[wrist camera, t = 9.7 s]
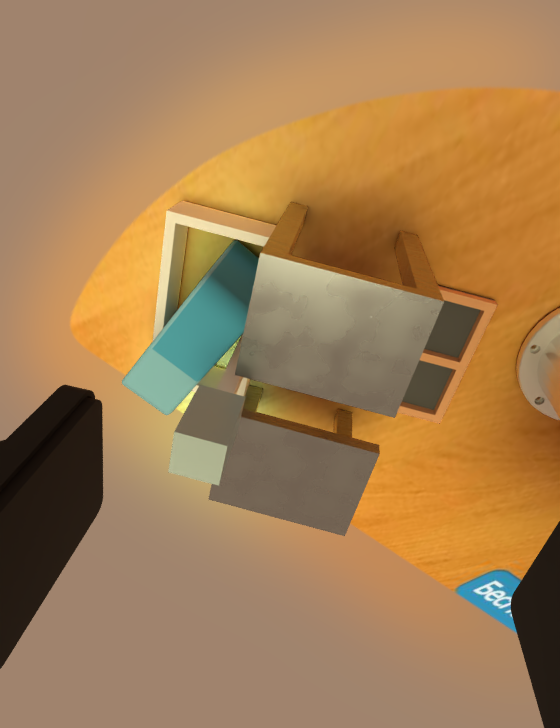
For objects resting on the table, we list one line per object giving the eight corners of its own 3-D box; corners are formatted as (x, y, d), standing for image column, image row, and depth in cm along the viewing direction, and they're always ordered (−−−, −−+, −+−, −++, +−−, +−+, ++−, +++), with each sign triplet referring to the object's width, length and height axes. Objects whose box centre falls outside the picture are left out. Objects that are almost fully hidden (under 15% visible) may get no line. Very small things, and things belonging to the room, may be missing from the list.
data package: (202, 354, 50) (162, 423, 40) (166, 326, 49) (114, 389, 39) (278, 267, 45) (253, 322, 34) (238, 234, 44) (201, 279, 33)
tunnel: (417, 235, 42) (444, 301, 29) (348, 423, 52) (344, 536, 39) (290, 201, 42) (260, 252, 29) (246, 396, 52) (208, 499, 39)
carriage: (297, 231, 43) (250, 342, 24) (260, 385, 51) (202, 559, 32) (182, 200, 43) (45, 287, 24) (163, 359, 51) (49, 517, 32)
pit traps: (494, 299, 44) (497, 304, 43) (438, 416, 50) (439, 423, 49) (422, 280, 44) (423, 285, 43) (375, 400, 50) (375, 406, 49)
